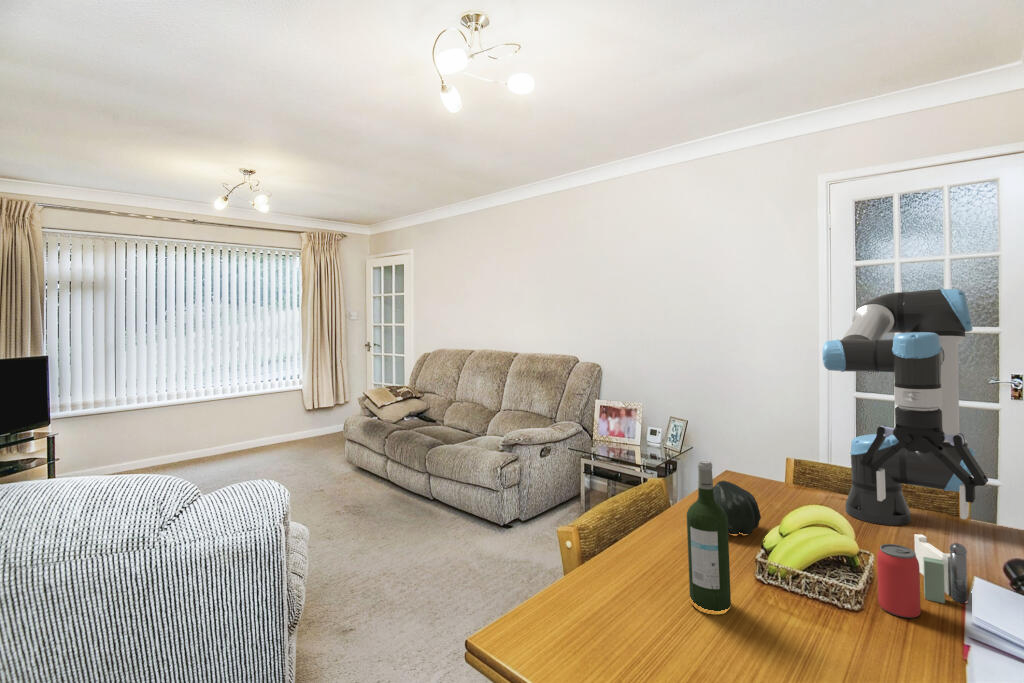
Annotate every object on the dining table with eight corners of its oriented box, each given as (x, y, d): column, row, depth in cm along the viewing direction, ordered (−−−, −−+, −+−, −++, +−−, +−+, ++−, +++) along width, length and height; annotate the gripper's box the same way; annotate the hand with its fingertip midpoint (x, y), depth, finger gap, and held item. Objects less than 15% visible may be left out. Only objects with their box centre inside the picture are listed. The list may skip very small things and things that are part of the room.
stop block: (924, 594, 101) (923, 556, 100) (943, 598, 99) (942, 560, 99) (925, 599, 99) (924, 560, 99) (944, 603, 97) (943, 564, 97)
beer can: (929, 621, 92) (927, 558, 92) (889, 618, 93) (887, 557, 93) (908, 601, 98) (906, 543, 98) (871, 599, 100) (869, 541, 100)
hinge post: (949, 595, 100) (948, 539, 100) (967, 599, 98) (965, 542, 98) (951, 601, 98) (950, 544, 97) (969, 605, 96) (967, 547, 96)
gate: (957, 595, 100) (956, 557, 99) (948, 595, 100) (947, 556, 100) (923, 569, 110) (922, 534, 110) (915, 568, 111) (914, 534, 111)
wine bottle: (729, 597, 103) (723, 457, 102) (733, 618, 96) (727, 467, 95) (689, 592, 106) (684, 455, 105) (690, 612, 98) (684, 466, 97)
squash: (773, 508, 136) (733, 465, 141) (768, 530, 124) (724, 482, 128) (733, 533, 142) (696, 491, 147) (725, 557, 130) (685, 510, 135)
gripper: (841, 403, 108) (845, 497, 109) (998, 417, 88) (1001, 531, 89) (854, 398, 113) (857, 488, 114) (1006, 410, 93) (1008, 519, 94)
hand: (920, 507), depth 101 cm, fingers open, 13 cm apart
